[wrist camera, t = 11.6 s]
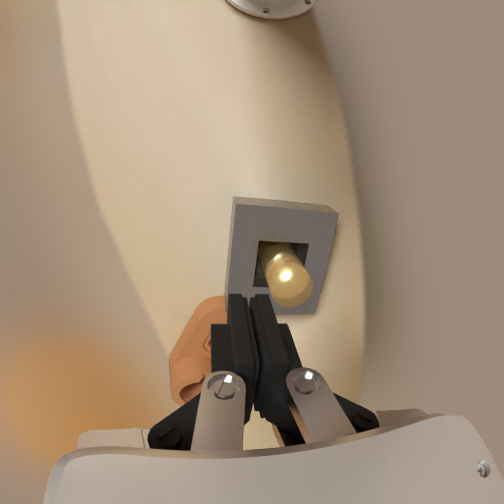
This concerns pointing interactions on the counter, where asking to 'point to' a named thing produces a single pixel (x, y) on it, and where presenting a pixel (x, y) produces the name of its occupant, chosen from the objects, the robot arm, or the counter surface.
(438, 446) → the robot arm
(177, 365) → the bracket
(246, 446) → the counter surface
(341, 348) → the counter surface
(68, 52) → the counter surface
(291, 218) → the plate
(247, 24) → the counter surface
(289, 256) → the gold rounded cylinder
